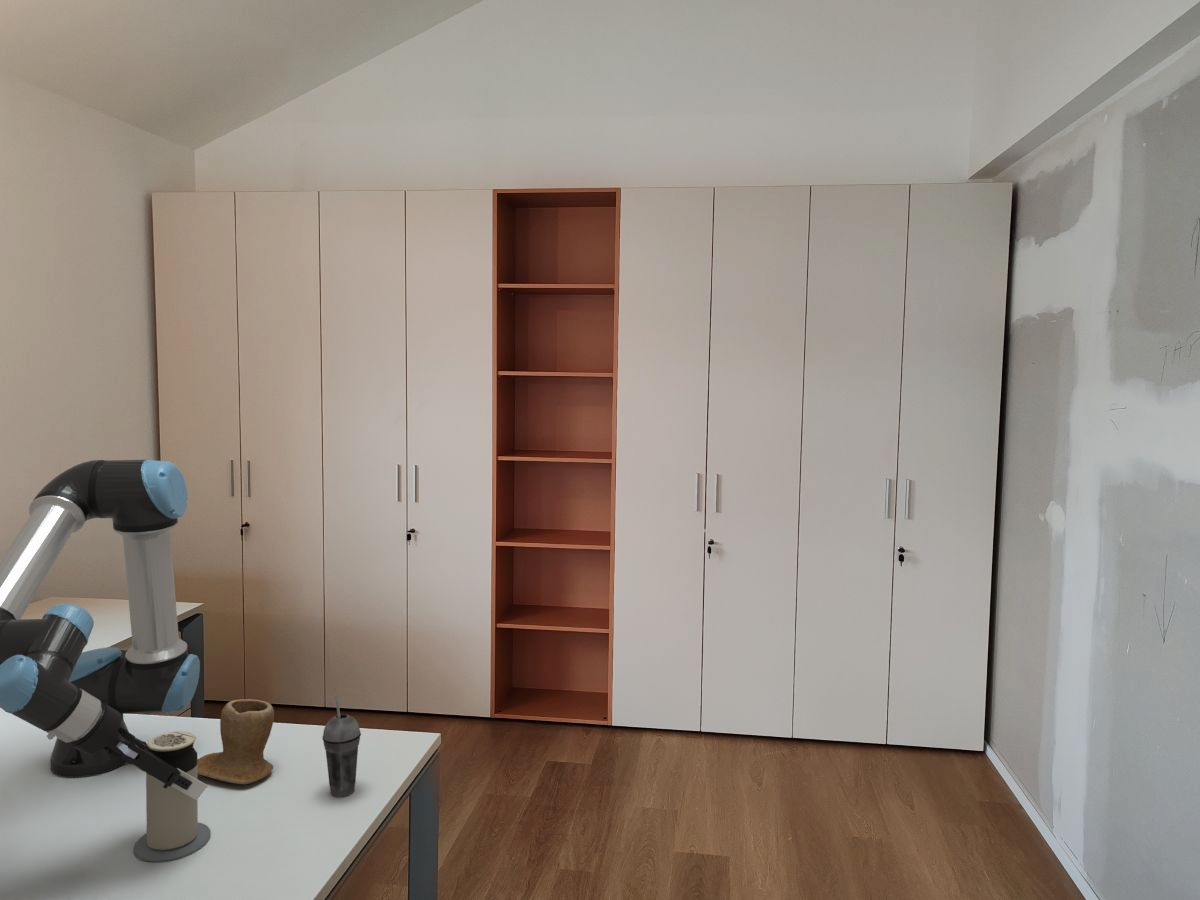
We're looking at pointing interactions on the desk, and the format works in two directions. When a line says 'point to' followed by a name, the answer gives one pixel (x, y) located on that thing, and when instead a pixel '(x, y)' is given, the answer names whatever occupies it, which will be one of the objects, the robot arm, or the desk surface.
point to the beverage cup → (341, 752)
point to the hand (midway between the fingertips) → (190, 782)
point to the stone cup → (241, 743)
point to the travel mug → (171, 794)
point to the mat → (159, 855)
